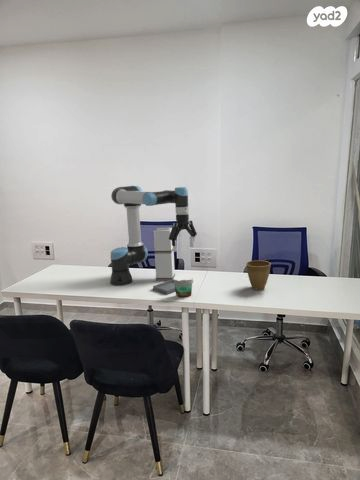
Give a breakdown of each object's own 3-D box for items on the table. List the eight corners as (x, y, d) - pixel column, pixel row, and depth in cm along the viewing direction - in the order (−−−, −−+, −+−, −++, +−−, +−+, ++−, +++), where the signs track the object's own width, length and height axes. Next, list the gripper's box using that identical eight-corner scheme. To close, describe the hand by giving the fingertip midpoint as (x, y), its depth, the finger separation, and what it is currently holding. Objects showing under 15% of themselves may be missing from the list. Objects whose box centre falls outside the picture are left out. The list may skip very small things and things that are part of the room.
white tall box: (174, 275, 245) (172, 227, 238) (172, 280, 235) (170, 230, 228) (159, 275, 247) (156, 228, 240) (156, 280, 237) (153, 230, 230)
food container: (175, 299, 201) (174, 283, 199) (173, 295, 207) (172, 280, 205) (195, 297, 204) (195, 281, 202) (193, 293, 209) (192, 277, 207)
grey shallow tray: (153, 289, 219) (152, 286, 219) (173, 282, 231) (173, 279, 230) (167, 294, 209) (167, 290, 209) (187, 287, 221) (187, 283, 221)
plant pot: (275, 287, 214) (275, 262, 211) (261, 293, 204) (261, 268, 201) (255, 282, 225) (255, 258, 222) (241, 288, 215) (241, 263, 212)
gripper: (169, 216, 190) (171, 254, 194) (201, 211, 206) (202, 246, 210) (161, 215, 196) (163, 252, 200) (193, 211, 212) (194, 244, 216)
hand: (183, 249), depth 205 cm, fingers open, 13 cm apart
